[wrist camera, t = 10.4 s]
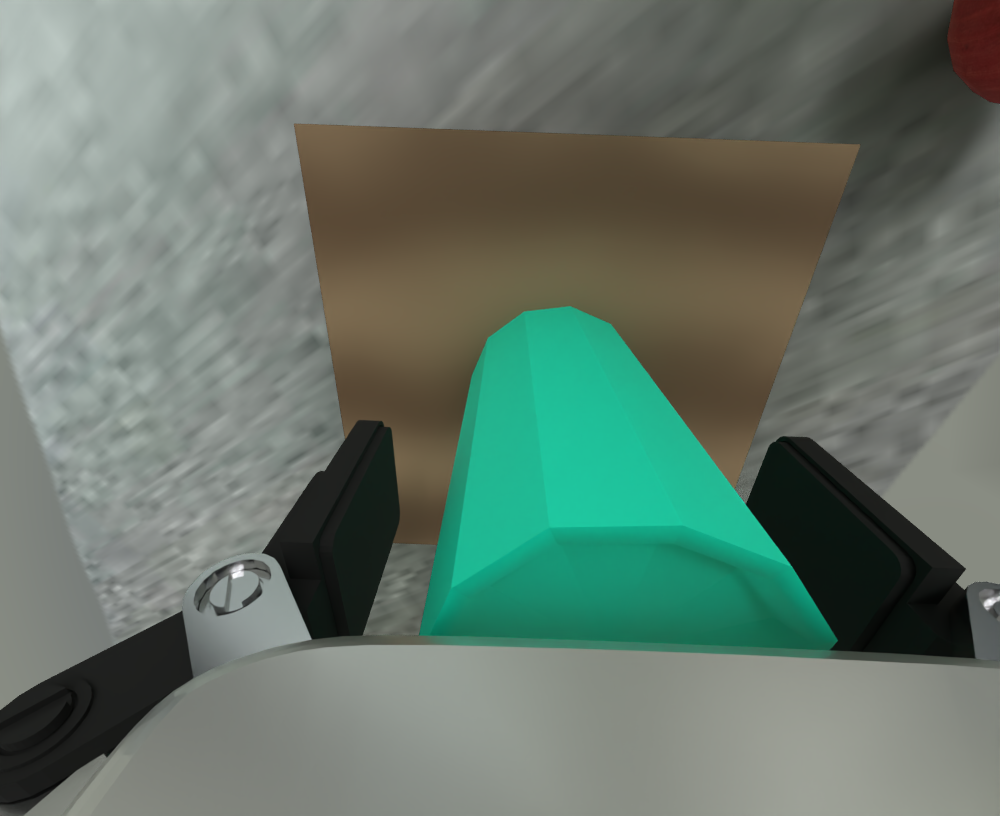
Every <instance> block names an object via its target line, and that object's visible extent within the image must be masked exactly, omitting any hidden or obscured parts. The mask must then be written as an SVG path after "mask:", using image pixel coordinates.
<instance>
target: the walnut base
mask: <svg viewBox="0 0 1000 816" xmlns="http://www.w3.org/2000/svg"><path fill="white" fill-rule="evenodd" d="M294 127H295V133H296V140H297V146H298V152H299V158H300V164H301V170H302V177H303V183H304V189H305V195H306V201H307V207H308V214H309V220H310V226H311V232H312V238H313V244H314V251H315V257H316V263H317V269H318V275H319V281H320V288H321V294H322V300H323V306H324V312H325V318H326V325H327V331H328V337H329V343H330V349H331V355H332V362H333V368H334V374H335V380H336V386H337V392H338V398H339V405H340V411H341V417H342V423H343V429H344V435H345V439H346V438H347V436H348V434H349V433H350V431H351V430H352V428H353V427H354V425H355V424H356V422H357V421H358V420H374V421H382V422H383V423H384V427H390V428H391V430H392V437H393V447H394V457H395V466H396V476H397V486H398V495H399V505H400V520H399V525H398V528H397V531H396V535H395V538H394V541H393V543H406V544H432V545H437V544H438V539H439V534H440V529H441V525H442V520H443V515H444V510H445V505H446V500H447V495H448V490H449V485H450V480H451V475H452V471H453V466H454V461H455V456H456V451H457V446H458V441H459V436H460V431H461V426H462V421H463V417H464V412H465V407H466V402H467V397H468V392H469V387H470V382H471V377H472V374H473V372H474V369H475V367H476V365H477V362H478V360H479V358H480V355H481V353H482V351H483V348H484V346H485V344H486V341H487V339H488V337H490V336H491V335H493V334H494V333H495V332H497V331H498V330H499V329H501V328H502V327H504V326H505V325H506V324H508V323H509V322H510V321H512V320H513V319H515V318H516V317H517V316H519V315H520V314H521V313H523V312H524V311H533V310H541V309H550V308H559V307H567V306H571V307H573V308H576V309H578V310H580V311H583V312H585V313H587V314H589V315H592V316H594V317H596V318H598V319H601V320H603V321H605V322H607V323H610V324H611V325H612V326H613V327H614V329H615V330H616V331H617V333H618V334H619V336H620V337H621V338H622V340H623V341H624V342H625V344H626V345H627V346H628V348H629V349H630V350H631V352H632V353H633V354H634V356H635V357H636V358H637V360H638V361H639V362H640V364H641V365H642V366H643V368H644V369H645V370H646V372H647V373H648V374H649V376H650V377H651V378H652V380H653V381H654V382H655V384H656V385H657V386H658V388H659V389H660V390H661V392H662V393H663V394H664V396H665V397H666V398H667V400H668V401H669V403H670V404H671V405H672V407H673V408H674V409H675V411H676V412H677V413H678V415H679V416H680V417H681V419H682V420H683V421H684V423H685V424H686V425H687V427H688V428H689V429H690V431H691V432H692V433H693V435H694V436H695V437H696V439H697V440H698V441H699V443H700V444H701V445H702V447H703V448H704V449H705V451H706V452H707V453H708V455H709V456H710V457H711V459H712V460H713V461H714V463H715V464H716V466H717V467H718V468H719V470H720V471H721V472H722V474H723V475H724V476H725V478H726V479H727V480H728V482H729V483H730V484H731V486H732V487H733V488H734V489H735V487H736V484H737V481H738V478H739V476H740V473H741V470H742V468H743V465H744V462H745V459H746V457H747V454H748V451H749V448H750V446H751V443H752V440H753V438H754V435H755V432H756V429H757V427H758V424H759V421H760V418H761V416H762V413H763V410H764V407H765V405H766V402H767V399H768V397H769V394H770V391H771V388H772V386H773V383H774V380H775V377H776V375H777V372H778V369H779V367H780V364H781V361H782V358H783V356H784V353H785V350H786V347H787V345H788V342H789V339H790V337H791V334H792V331H793V328H794V326H795V323H796V320H797V317H798V315H799V312H800V309H801V306H802V304H803V301H804V298H805V296H806V293H807V290H808V287H809V285H810V282H811V279H812V276H813V274H814V271H815V268H816V266H817V263H818V260H819V257H820V255H821V252H822V249H823V246H824V244H825V241H826V238H827V236H828V233H829V230H830V227H831V225H832V222H833V219H834V216H835V214H836V211H837V208H838V205H839V203H840V200H841V197H842V195H843V192H844V189H845V186H846V184H847V181H848V178H849V175H850V173H851V170H852V167H853V165H854V162H855V159H856V156H857V154H858V151H859V148H860V144H833V143H806V142H779V141H752V140H725V139H697V138H670V137H643V136H616V135H589V134H562V133H534V132H507V131H480V130H453V129H426V128H399V127H371V126H344V125H317V124H294Z"/></svg>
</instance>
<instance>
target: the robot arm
mask: <svg viewBox="0 0 1000 816" xmlns="http://www.w3.org/2000/svg"><path fill="white" fill-rule="evenodd" d="M746 506H747V507H748V508H749V510H750V511H751V512H752V514H753V515H754V516H755V518H756V519H757V520H758V522H759V523H760V524H761V526H762V527H763V528H764V530H765V531H766V533H767V534H768V535H769V537H770V538H771V539H772V541H773V542H774V543H775V545H776V546H777V547H778V549H779V550H780V551H781V553H782V554H783V555H784V557H785V558H786V559H787V561H788V562H789V563H790V565H791V566H792V567H793V569H794V571H795V572H796V574H797V575H798V577H799V579H800V580H801V582H802V584H803V585H804V587H805V588H806V590H807V592H808V593H809V595H810V596H811V598H812V600H813V601H814V603H815V604H816V606H817V608H818V609H819V611H820V612H821V614H822V616H823V617H824V619H825V621H826V622H827V624H828V625H829V627H830V629H831V630H832V632H833V633H834V635H835V637H836V638H837V640H838V641H837V642H836V643H835V645H834V646H833V647H832V648H831V649H830V650H808V649H786V648H764V647H740V646H716V645H691V644H667V643H641V642H616V641H589V640H560V639H531V638H502V637H473V636H417V635H369V636H362V635H363V632H364V629H365V626H366V623H367V620H368V617H369V614H370V611H371V608H372V605H373V602H374V599H375V596H376V593H377V590H378V586H379V583H380V580H381V577H382V574H383V571H384V568H385V565H386V562H387V559H388V556H389V553H390V550H391V547H392V544H393V541H394V538H395V535H396V531H397V528H398V525H399V520H400V505H399V495H398V486H397V476H396V466H395V457H394V447H393V437H392V430H391V428H390V427H384V423H383V422H382V421H374V420H358V421H357V422H356V424H355V425H354V427H353V428H352V430H351V431H350V433H349V434H348V436H347V438H346V439H345V441H344V442H343V444H342V445H341V447H340V448H339V450H338V451H337V453H336V455H335V456H334V458H333V459H332V461H331V462H330V464H329V465H328V467H327V468H326V470H325V471H320V472H317V473H316V474H315V476H314V477H313V478H312V480H311V481H310V483H309V484H308V486H307V487H306V489H305V490H304V491H303V493H302V494H301V496H300V497H299V499H298V500H297V502H296V503H295V505H294V506H293V508H292V509H291V511H290V512H289V514H288V515H287V517H286V518H285V520H284V521H283V523H282V524H281V526H280V527H279V529H278V530H277V532H276V533H275V535H274V536H273V538H272V539H271V540H270V542H269V543H268V545H267V546H266V548H265V549H264V551H263V552H262V554H261V553H247V554H240V555H237V556H233V557H230V558H227V559H225V560H223V561H221V562H219V563H217V564H215V565H213V566H211V567H210V568H209V569H207V570H206V571H205V572H203V573H202V574H201V575H199V576H198V577H197V579H196V580H195V581H194V582H193V583H192V584H191V585H190V586H189V588H188V590H187V592H186V594H185V596H184V598H183V606H182V611H181V612H179V613H177V614H175V615H173V616H171V617H169V618H167V619H165V620H163V621H161V622H160V623H158V624H156V625H154V626H152V627H150V628H148V629H146V630H144V631H142V632H140V633H138V634H136V635H134V636H132V637H130V638H128V639H126V640H124V641H122V642H120V643H118V644H116V645H114V646H112V647H110V648H108V649H107V650H104V651H102V652H100V653H99V654H97V655H95V656H93V657H91V658H89V659H87V660H85V661H83V662H81V663H79V664H77V665H75V666H73V667H71V668H69V669H67V670H65V671H63V672H61V673H59V674H57V675H55V676H53V677H51V678H49V679H47V680H45V681H44V682H41V683H40V684H38V685H36V686H34V687H33V688H31V689H30V690H28V691H26V692H25V693H23V694H21V695H19V696H18V697H17V698H15V699H14V700H13V701H12V702H10V703H9V704H8V705H6V706H5V707H4V708H3V709H1V710H0V816H1000V584H995V583H990V582H974V583H973V584H971V585H969V586H968V587H967V588H966V589H965V590H964V589H963V588H961V587H960V586H959V585H958V584H957V583H956V581H957V580H958V578H959V577H960V576H961V575H962V573H963V572H964V571H965V569H966V568H964V567H963V566H962V565H961V564H960V563H958V562H957V561H956V560H955V559H954V558H952V557H951V556H950V555H949V554H948V553H946V552H945V551H944V550H943V549H942V548H941V547H939V546H938V545H937V544H936V543H935V542H933V541H932V540H931V539H930V538H929V537H927V536H926V535H925V534H924V533H923V532H922V531H920V530H919V529H918V528H917V527H916V526H914V525H913V524H912V523H911V522H910V521H908V520H907V519H906V518H905V517H904V516H903V515H901V514H900V513H899V512H898V511H897V510H895V509H894V508H893V507H892V506H891V505H889V504H888V503H887V502H886V501H885V500H883V499H882V498H881V497H880V496H879V495H878V494H876V493H875V492H874V491H873V490H872V489H870V488H869V487H868V486H867V485H866V484H865V483H863V482H862V481H861V480H860V479H859V478H857V477H856V476H855V475H854V474H853V473H851V472H850V471H849V470H848V469H847V468H846V467H844V466H843V465H842V464H841V463H840V462H838V461H837V460H836V459H835V458H834V457H832V456H831V455H830V454H829V453H828V452H826V451H825V450H824V449H823V448H822V447H821V446H819V445H818V444H817V443H816V442H815V441H813V440H812V439H810V438H808V437H788V436H783V437H780V438H779V439H778V440H777V441H776V442H773V443H772V444H770V446H769V448H768V450H767V453H766V455H765V458H764V460H763V463H762V465H761V468H760V470H759V473H758V476H757V478H756V481H755V483H754V486H753V488H752V491H751V493H750V496H749V498H748V501H747V503H746Z"/></svg>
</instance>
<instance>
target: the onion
mask: <svg viewBox="0 0 1000 816" xmlns="http://www.w3.org/2000/svg"><path fill="white" fill-rule="evenodd" d="M947 41H948V46H949V51H950V56H951V60H952V65H953V70H954V72H955V73H956V74H957V75H958V76H959V77H960V78H961V79H962V80H963V81H964V83H965V84H966V85H967V86H968V87H969V88H970V89H971V90H972V91H973V92H974V93H976V94H978V95H979V96H981V97H983V98H984V99H986V100H987V101H989V102H993V103H998V104H1000V0H954V4H953V9H952V14H951V20H950V25H949V30H948V37H947Z"/></svg>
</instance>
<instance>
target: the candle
mask: <svg viewBox="0 0 1000 816" xmlns="http://www.w3.org/2000/svg"><path fill="white" fill-rule="evenodd" d="M419 636H473V637H502V638H531V639H560V640H589V641H616V642H641V643H667V644H691V645H716V646H740V647H764V648H786V649H808V650H830V649H831V648H832V647H833V646H834V645H835V643H836V642H837V641H838V640H837V638H836V637H835V635H834V633H833V632H832V630H831V629H830V627H829V625H828V624H827V622H826V621H825V619H824V617H823V616H822V614H821V612H820V611H819V609H818V608H817V606H816V604H815V603H814V601H813V600H812V598H811V596H810V595H809V593H808V592H807V590H806V588H805V587H804V585H803V584H802V582H801V580H800V579H799V577H798V575H797V574H796V572H795V571H794V569H793V567H792V566H791V565H790V563H789V562H788V561H787V559H786V558H785V557H784V555H783V554H782V553H781V551H780V550H779V549H778V547H777V546H776V545H775V543H774V542H773V541H772V539H771V538H770V537H769V535H768V534H767V533H766V531H765V530H764V528H763V527H762V526H761V524H760V523H759V522H758V520H757V519H756V518H755V516H754V515H753V514H752V512H751V511H750V510H749V508H748V507H747V506H746V504H745V503H744V502H743V500H742V499H741V498H740V496H739V495H738V494H737V492H736V491H735V490H734V488H733V487H732V486H731V484H730V483H729V482H728V480H727V479H726V478H725V476H724V475H723V474H722V472H721V471H720V470H719V468H718V467H717V466H716V464H715V463H714V461H713V460H712V459H711V457H710V456H709V455H708V453H707V452H706V451H705V449H704V448H703V447H702V445H701V444H700V443H699V441H698V440H697V439H696V437H695V436H694V435H693V433H692V432H691V431H690V429H689V428H688V427H687V425H686V424H685V423H684V421H683V420H682V419H681V417H680V416H679V415H678V413H677V412H676V411H675V409H674V408H673V407H672V405H671V404H670V403H669V401H668V400H667V398H666V397H665V396H664V394H663V393H662V392H661V390H660V389H659V388H658V386H657V385H656V384H655V382H654V381H653V380H652V378H651V377H650V376H649V374H648V373H647V372H646V370H645V369H644V368H643V366H642V365H641V364H640V362H639V361H638V360H637V358H636V357H635V356H634V354H633V353H632V352H631V350H630V349H629V348H628V346H627V345H626V344H625V342H624V341H623V340H622V338H621V337H620V336H619V334H618V333H617V331H616V330H615V329H614V327H613V326H612V325H611V324H610V323H607V322H605V321H603V320H601V319H598V318H596V317H594V316H592V315H589V314H587V313H585V312H583V311H580V310H578V309H576V308H573V307H571V306H567V307H559V308H550V309H541V310H533V311H524V312H523V313H521V314H520V315H519V316H517V317H516V318H515V319H513V320H512V321H510V322H509V323H508V324H506V325H505V326H504V327H502V328H501V329H499V330H498V331H497V332H495V333H494V334H493V335H491V336H490V337H488V339H487V341H486V344H485V346H484V348H483V351H482V353H481V355H480V358H479V360H478V362H477V365H476V367H475V369H474V372H473V374H472V377H471V382H470V387H469V392H468V397H467V402H466V407H465V412H464V417H463V421H462V426H461V431H460V436H459V441H458V446H457V451H456V456H455V461H454V466H453V471H452V475H451V480H450V485H449V490H448V495H447V500H446V505H445V510H444V515H443V520H442V525H441V529H440V534H439V539H438V544H437V549H436V554H435V559H434V564H433V569H432V574H431V579H430V583H429V588H428V593H427V598H426V603H425V608H424V613H423V618H422V623H421V628H420V633H419Z"/></svg>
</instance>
